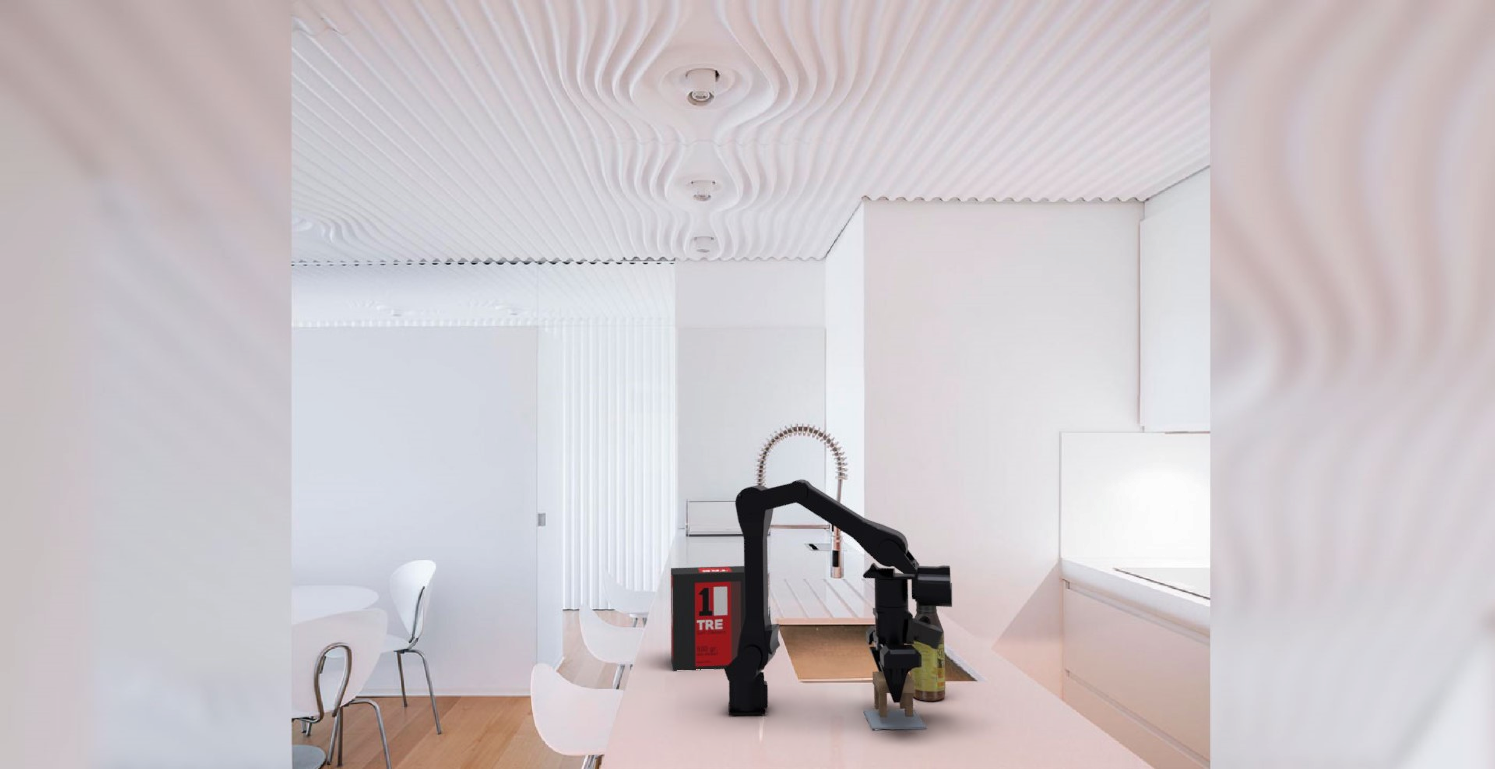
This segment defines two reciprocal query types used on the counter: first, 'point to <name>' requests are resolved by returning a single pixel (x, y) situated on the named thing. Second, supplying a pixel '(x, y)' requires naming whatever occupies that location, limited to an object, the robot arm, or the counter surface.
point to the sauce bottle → (929, 663)
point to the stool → (882, 691)
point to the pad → (894, 720)
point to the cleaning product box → (706, 616)
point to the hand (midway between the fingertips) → (893, 697)
